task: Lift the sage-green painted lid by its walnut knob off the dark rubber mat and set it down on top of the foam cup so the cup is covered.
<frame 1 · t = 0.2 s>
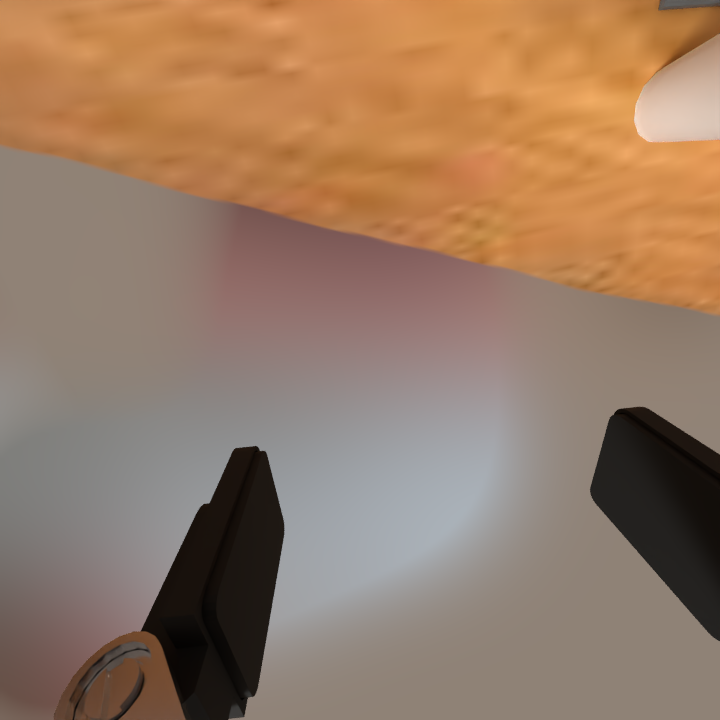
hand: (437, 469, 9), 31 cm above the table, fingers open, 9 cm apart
foam cup: (665, 105, 33), on the table
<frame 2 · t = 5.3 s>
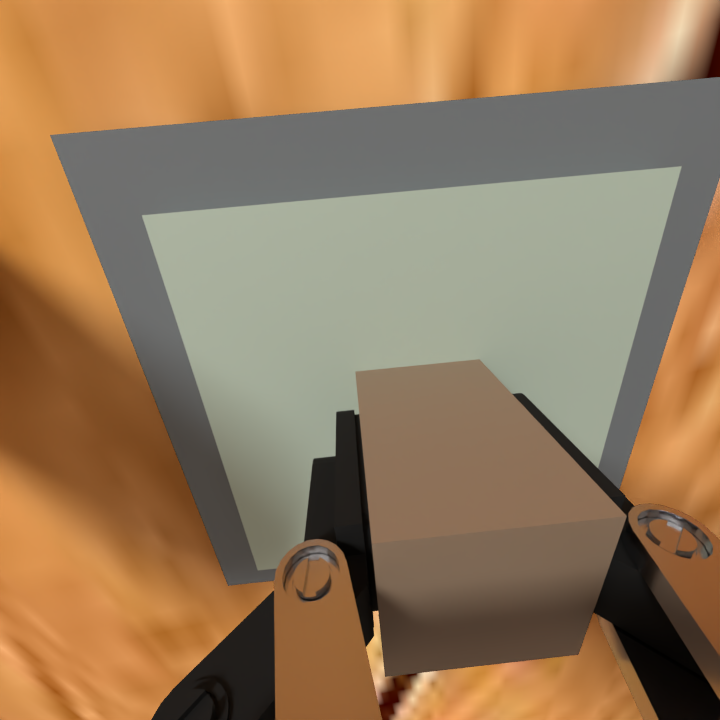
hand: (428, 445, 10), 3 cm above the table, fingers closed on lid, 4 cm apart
mat: (410, 398, 13), on the table
lid: (438, 471, 9), on the mat, touching gripper
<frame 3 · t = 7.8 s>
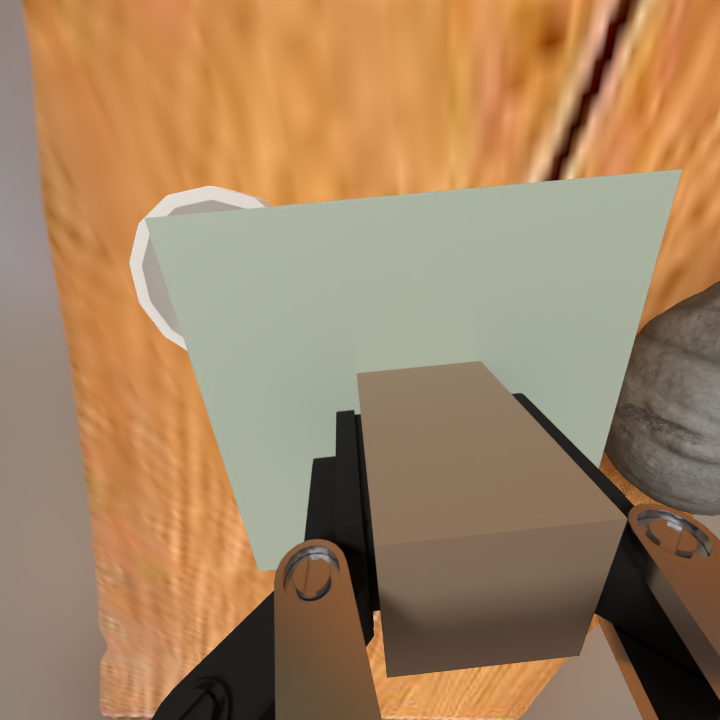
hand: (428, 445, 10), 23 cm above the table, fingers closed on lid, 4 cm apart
foam cup: (270, 254, 30), on the table
gourd: (679, 361, 37), on the table
lid: (439, 473, 9), point 24 cm above the table, touching gripper
when the fingers open (17 cm above the table, at t = 10.3 s): lid drops 1 cm, resting on foam cup.
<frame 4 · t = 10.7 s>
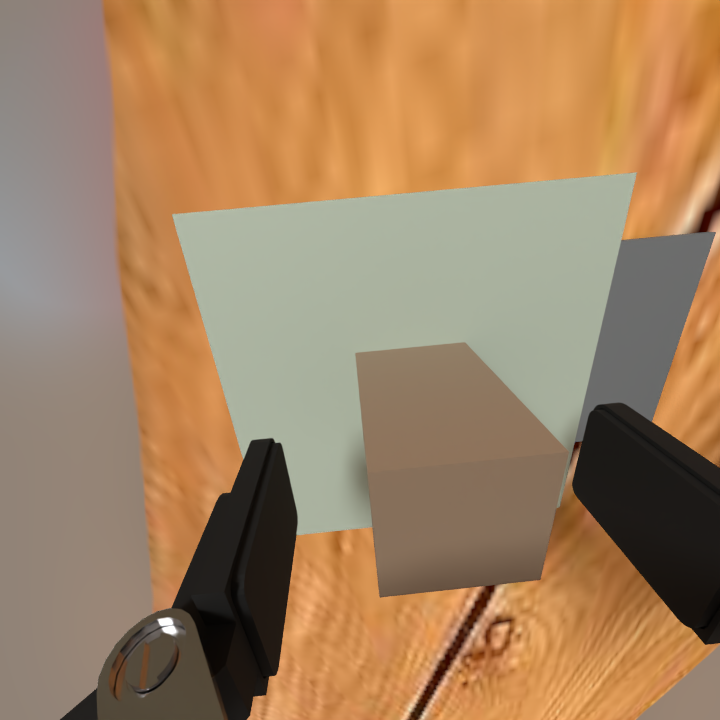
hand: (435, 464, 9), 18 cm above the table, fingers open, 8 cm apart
mat: (567, 355, 28), on the table
lid: (427, 437, 10), point 16 cm above the table, touching foam cup
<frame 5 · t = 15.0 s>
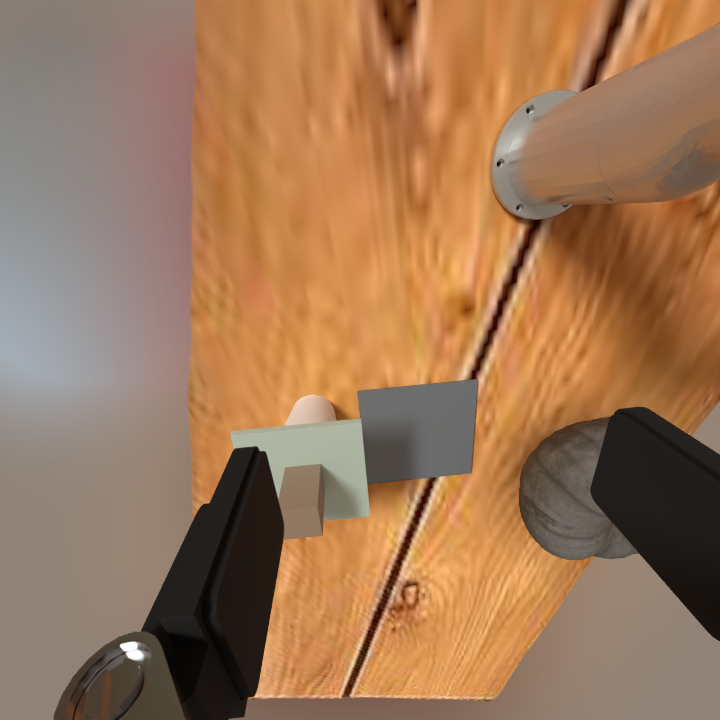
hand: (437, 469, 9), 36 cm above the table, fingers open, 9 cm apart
mat: (417, 433, 53), on the table
foam cup: (313, 411, 51), on the table, touching lid
gourd: (572, 454, 57), on the table
lid: (303, 496, 36), point 16 cm above the table, touching foam cup
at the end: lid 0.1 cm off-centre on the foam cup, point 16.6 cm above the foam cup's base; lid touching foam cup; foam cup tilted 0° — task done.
